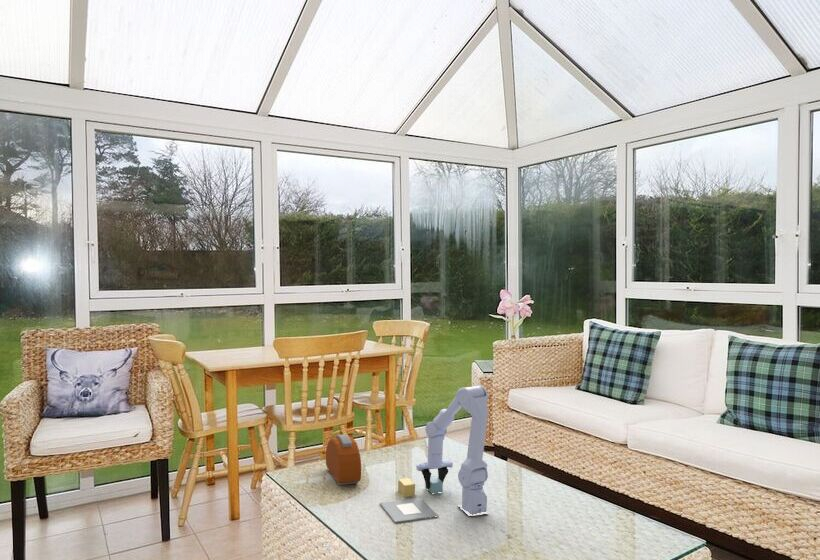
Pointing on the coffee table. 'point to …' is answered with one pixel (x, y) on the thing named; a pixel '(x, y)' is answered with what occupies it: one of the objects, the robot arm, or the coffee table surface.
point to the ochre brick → (406, 487)
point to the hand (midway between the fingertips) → (433, 487)
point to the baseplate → (408, 510)
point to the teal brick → (435, 485)
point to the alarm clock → (343, 459)
